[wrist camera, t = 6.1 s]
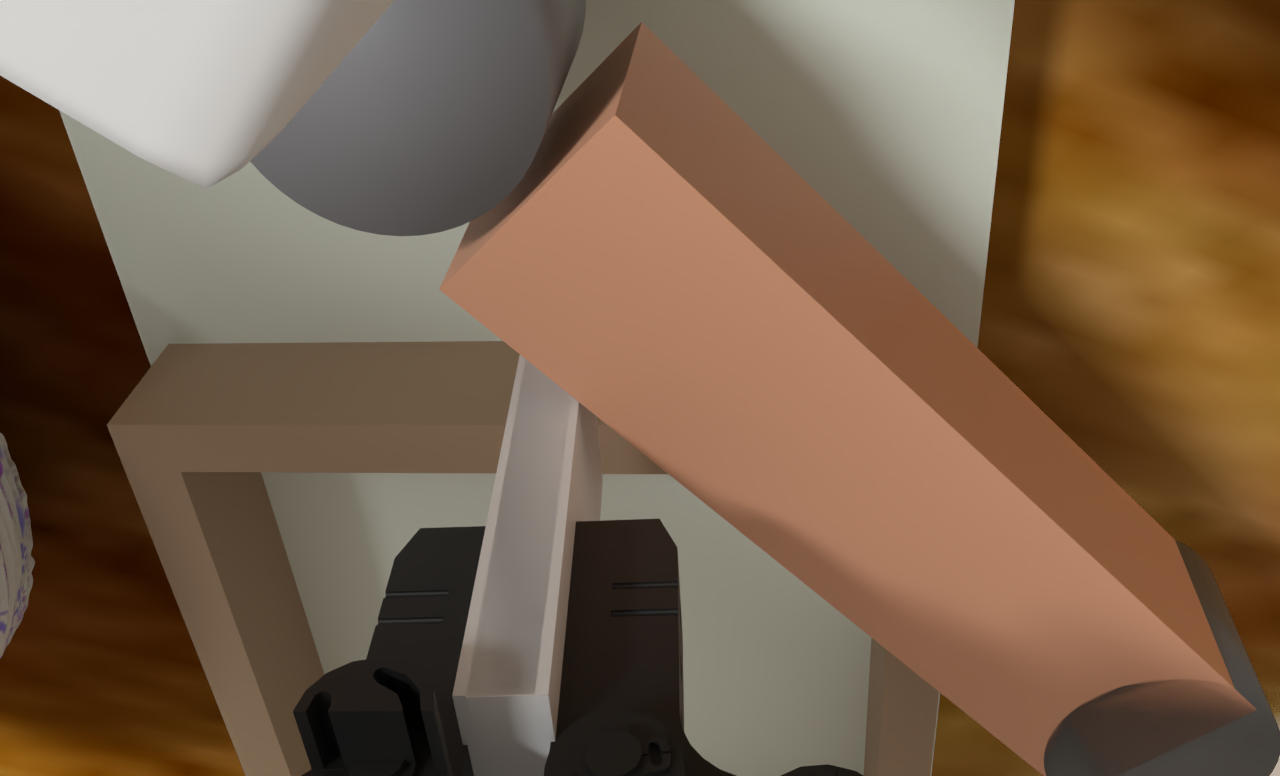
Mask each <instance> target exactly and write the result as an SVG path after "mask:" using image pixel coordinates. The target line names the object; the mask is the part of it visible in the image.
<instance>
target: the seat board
mask: <svg viewBox="0 0 1280 776" xmlns="http://www.w3.org/2000/svg"><path fill="white" fill-rule="evenodd" d="M1014 4H1015V0H586V13H585V20H584V27H583V33H582V36H581V40H580V43H579V47H578V50H577V52H576V55H575V57H574V60H573V62H572V65H571V67H570V70H569V72H568V75H567V77H566V80H565V83H564V85H563V88H562V90H561V93H560V95H559V98H558V100H557V103H556V105H555V108H554V110H553V112H554V111H555V110H556V109H557V108H558V107H559V106H560V105H561V104H562V103H563V102H564V101H565V100H566V99H567V98H568V97H569V96H570V95H571V94H572V93H573V92H574V91H575V90H576V89H577V88H578V87H579V86H580V85H581V84H582V83H583V82H584V81H585V79H586V78H587V77H588V76H589V75H590V74H591V73H592V72H593V71H594V70H595V69H596V68H597V67H598V66H599V65H600V64H601V63H602V62H603V61H604V60H605V59H606V58H607V57H608V56H609V55H610V54H611V53H612V52H613V51H614V50H615V49H616V48H617V47H618V46H619V44H620V43H621V42H622V41H623V40H624V39H625V38H626V37H627V36H628V35H629V34H630V33H631V32H632V31H633V30H634V29H635V28H636V27H637V26H638V25H639V24H640V23H641V22H642V23H643V24H644V25H646V26H647V27H648V28H649V29H650V30H651V31H652V32H653V33H654V34H655V35H656V36H657V37H658V38H659V39H660V40H661V41H662V42H663V43H664V44H665V45H666V46H667V47H668V48H669V49H670V50H671V51H672V52H673V53H674V54H675V55H676V56H677V57H678V58H679V59H681V60H682V61H683V62H684V63H685V64H686V65H687V66H688V67H689V68H690V69H691V70H692V71H693V72H694V73H695V74H696V75H697V76H698V77H699V78H700V79H701V80H702V81H703V82H704V83H705V84H706V85H707V86H708V87H709V88H710V89H711V90H712V91H713V92H714V93H716V94H717V95H718V96H719V97H720V98H721V99H722V100H723V101H724V102H725V103H726V104H727V105H728V106H729V107H730V108H731V109H732V110H733V111H734V112H735V113H736V114H737V115H738V116H739V117H740V118H741V119H742V120H743V121H744V122H745V123H746V124H747V125H748V126H749V127H750V128H752V129H753V130H754V131H755V132H756V133H757V134H758V135H759V136H760V137H761V138H762V139H763V140H764V141H765V142H766V143H767V144H768V145H769V146H770V147H771V148H772V149H773V150H774V151H775V152H776V153H777V154H778V155H779V156H780V157H781V158H782V159H783V160H784V161H785V162H787V163H788V164H789V165H790V166H791V167H792V168H793V169H794V170H795V171H796V172H797V173H798V174H799V175H800V176H801V177H802V178H803V179H804V180H805V181H806V182H807V183H808V184H809V185H810V186H811V187H812V188H813V189H814V190H815V191H816V192H817V193H818V194H819V195H820V196H822V197H823V198H824V199H825V200H826V201H827V202H828V203H829V204H830V205H831V206H832V207H833V208H834V209H835V210H836V211H837V212H838V213H839V214H840V215H841V216H842V217H843V218H844V219H845V220H846V221H847V222H848V223H849V224H850V225H851V226H852V227H853V228H854V229H855V230H857V231H858V232H859V233H860V234H861V235H862V236H863V237H864V238H865V239H866V240H867V241H868V242H869V243H870V244H871V245H872V246H873V247H874V248H875V249H876V250H877V251H878V252H879V253H880V254H881V255H882V256H883V257H884V258H885V259H886V260H887V261H888V262H889V263H890V264H892V265H893V266H894V267H895V268H896V269H897V270H898V271H899V272H900V273H901V274H902V275H903V276H904V277H905V278H906V279H907V280H908V281H909V282H910V283H911V284H912V285H913V286H914V287H915V288H916V289H917V290H918V291H919V292H920V293H921V294H922V295H923V296H924V297H925V298H926V299H928V300H929V301H930V302H931V303H932V304H933V305H934V306H935V307H936V308H937V309H938V310H939V311H940V312H941V313H942V314H943V315H944V316H945V317H946V318H947V319H948V320H949V321H950V322H951V323H952V324H953V325H954V326H955V327H956V328H957V329H958V330H959V331H960V332H961V333H963V334H964V335H965V336H966V337H967V338H968V339H969V340H970V341H971V342H972V343H973V344H974V345H975V346H976V347H977V348H978V338H979V329H980V320H981V311H982V301H983V292H984V283H985V273H986V264H987V255H988V245H989V236H990V227H991V218H992V208H993V199H994V190H995V180H996V171H997V162H998V153H999V143H1000V134H1001V125H1002V115H1003V106H1004V97H1005V87H1006V78H1007V69H1008V60H1009V50H1010V41H1011V32H1012V22H1013V13H1014ZM59 111H60V110H59ZM60 114H61V117H62V120H63V123H64V125H65V128H66V131H67V134H68V137H69V139H70V142H71V145H72V148H73V150H74V153H75V156H76V159H77V162H78V164H79V167H80V170H81V173H82V176H83V178H84V181H85V184H86V187H87V190H88V192H89V195H90V198H91V201H92V204H93V206H94V209H95V212H96V215H97V218H98V220H99V223H100V226H101V229H102V232H103V234H104V237H105V240H106V243H107V246H108V248H109V251H110V254H111V257H112V259H113V262H114V265H115V268H116V271H117V273H118V276H119V279H120V282H121V285H122V287H123V290H124V293H125V296H126V299H127V301H128V304H129V307H130V310H131V313H132V315H133V318H134V321H135V324H136V327H137V329H138V332H139V335H140V338H141V341H142V343H143V346H144V349H145V352H146V355H147V357H148V360H149V363H150V366H151V367H150V369H149V370H148V371H147V373H146V374H145V375H144V377H143V378H142V379H141V380H140V382H139V383H138V384H137V386H136V387H135V388H134V390H133V391H132V392H131V394H130V395H129V396H128V397H127V399H126V400H125V401H124V403H123V404H122V405H121V407H120V408H119V409H118V411H117V412H116V413H115V415H114V416H113V417H112V418H111V420H110V421H109V422H108V424H107V427H108V429H109V432H110V434H111V437H112V439H113V442H114V445H115V447H116V450H117V452H118V455H119V457H120V460H121V462H122V465H123V467H124V470H125V472H126V475H127V477H128V480H129V482H130V485H131V487H132V490H133V493H134V495H135V498H136V500H137V503H138V505H139V508H140V510H141V513H142V515H143V518H144V520H145V523H146V525H147V528H148V530H149V533H150V536H151V538H152V541H153V543H154V546H155V548H156V551H157V553H158V556H159V558H160V561H161V563H162V566H163V568H164V571H165V573H166V576H167V578H168V581H169V584H170V586H171V589H172V591H173V594H174V596H175V599H176V601H177V604H178V606H179V609H180V611H181V614H182V616H183V619H184V621H185V624H186V626H187V629H188V632H189V634H190V637H191V639H192V642H193V644H194V647H195V649H196V652H197V654H198V657H199V659H200V662H201V664H202V667H203V669H204V672H205V675H206V677H207V680H208V682H209V685H210V687H211V690H212V692H213V695H214V697H215V700H216V702H217V705H218V707H219V710H220V712H221V715H222V717H223V720H224V723H225V725H226V728H227V730H228V733H229V735H230V738H231V740H232V743H233V745H234V748H235V750H236V753H237V755H238V758H239V760H240V763H241V765H242V768H243V771H244V773H245V776H301V775H303V774H305V773H306V772H308V771H310V770H311V766H310V763H309V760H308V757H307V754H306V750H305V747H304V744H303V741H302V738H301V735H300V732H299V729H298V726H297V723H296V720H295V717H294V714H293V710H294V709H295V707H296V705H297V704H298V702H299V700H300V699H301V697H302V695H303V694H304V692H305V691H306V690H307V689H308V688H309V687H310V686H311V685H313V684H314V683H315V682H316V681H318V680H319V679H320V678H321V677H322V676H324V675H325V674H326V673H328V672H330V671H332V670H334V669H337V668H339V667H341V666H343V665H346V664H348V663H350V662H352V661H359V660H366V658H367V654H368V651H369V647H370V644H371V640H372V637H373V633H374V630H375V626H376V625H378V615H379V612H380V608H381V605H382V601H383V598H385V596H386V593H385V591H386V587H387V584H388V580H389V577H390V573H391V570H392V566H393V563H394V559H395V557H396V556H397V555H398V554H399V552H400V551H401V550H402V549H403V548H404V547H405V545H406V544H407V543H408V542H409V541H410V540H411V538H412V537H413V536H414V535H415V534H416V532H417V531H418V530H419V529H420V528H441V527H473V526H486V523H487V518H488V513H489V507H490V502H491V497H492V492H493V487H494V482H495V477H496V472H497V467H498V462H499V457H500V452H501V447H502V442H503V437H504V432H505V427H506V421H507V416H508V411H509V406H510V401H511V396H512V391H513V386H514V381H515V376H516V371H517V366H518V361H519V356H520V354H519V353H517V352H516V351H515V350H514V349H513V348H511V347H510V346H509V345H508V344H506V343H505V342H504V341H503V340H501V339H500V338H499V337H498V336H496V335H495V334H494V333H493V332H491V331H490V330H489V329H488V328H486V327H485V326H484V325H483V324H481V323H480V322H479V321H478V320H476V319H475V318H474V317H473V316H472V315H470V314H469V313H468V312H467V311H465V310H464V309H463V308H462V307H460V306H459V305H458V304H457V303H455V302H454V301H453V300H452V299H450V298H449V297H448V296H447V295H445V294H444V293H443V292H442V291H440V290H439V289H440V286H441V284H442V282H443V280H444V278H445V275H446V273H447V271H448V269H449V267H450V264H451V262H452V260H453V258H454V256H455V253H456V251H457V249H458V247H459V245H460V242H461V240H462V238H463V236H464V234H465V231H466V229H467V227H468V225H469V223H470V222H468V223H466V224H464V225H462V226H459V227H456V228H453V229H449V230H446V231H443V232H439V233H433V234H427V235H421V236H389V235H378V234H373V233H368V232H363V231H358V230H355V229H352V228H349V227H345V226H342V225H339V224H337V223H334V222H332V221H330V220H327V219H325V218H323V217H320V216H318V215H317V214H315V213H313V212H311V211H309V210H308V209H306V208H304V207H302V206H301V205H299V204H298V203H296V202H295V201H293V200H292V199H291V198H289V197H288V196H286V195H285V194H284V193H282V192H281V191H280V190H279V189H277V188H276V187H275V186H274V185H273V184H272V183H271V182H269V181H268V180H267V179H266V178H265V177H264V176H263V175H262V174H261V173H260V172H259V171H258V170H257V168H256V167H255V166H254V165H253V164H252V163H251V162H249V163H247V164H246V165H245V166H244V167H243V168H242V169H241V170H240V171H238V172H236V173H234V174H232V175H231V176H229V177H227V178H225V179H224V180H222V181H220V182H218V183H216V184H215V185H213V186H211V187H209V188H208V189H204V188H202V187H200V186H198V185H196V184H194V183H192V182H190V181H188V180H186V179H184V178H181V177H179V176H177V175H175V174H173V173H171V172H169V171H167V170H165V169H163V168H161V167H159V166H157V165H154V164H152V163H150V162H148V161H146V160H144V159H142V158H140V157H138V156H136V155H135V154H133V153H131V152H130V151H128V150H126V149H124V148H123V147H121V146H119V145H118V144H116V143H114V142H112V141H111V140H109V139H107V138H106V137H104V136H102V135H101V134H99V133H97V132H95V131H94V130H92V129H90V128H89V127H87V126H85V125H84V124H82V123H80V122H78V121H77V120H75V119H73V118H72V117H70V116H68V115H67V114H65V113H63V112H61V111H60ZM596 417H597V416H596ZM597 427H598V437H599V447H600V457H601V467H602V477H603V483H602V497H601V512H600V521H605V520H633V519H660V520H661V522H662V523H663V525H664V527H665V528H666V530H667V531H668V533H669V535H670V536H671V538H672V539H673V541H674V543H675V544H676V546H677V548H678V565H679V583H680V600H681V617H682V634H683V686H684V733H685V735H686V737H687V739H688V741H689V743H690V744H691V745H692V747H693V748H694V749H695V750H696V751H697V752H698V753H699V754H700V755H701V756H702V758H704V759H705V760H707V761H708V762H710V763H711V764H713V765H714V766H716V767H717V768H719V769H721V770H723V771H726V772H728V773H731V774H734V775H736V776H781V775H783V774H785V773H787V772H790V771H792V770H794V769H796V768H799V767H801V766H813V765H826V764H829V765H833V766H838V767H842V768H846V769H850V770H854V771H857V772H858V773H860V774H862V775H863V776H931V775H932V766H933V757H934V747H935V738H936V729H937V720H938V710H939V701H940V692H939V691H937V690H936V689H935V688H934V687H932V686H931V685H930V684H929V683H927V682H926V681H925V680H924V679H922V678H921V677H920V676H919V675H917V674H916V673H915V672H914V671H913V670H911V669H910V668H909V667H908V666H906V665H905V664H904V663H903V662H901V661H900V660H899V659H898V658H896V657H895V656H894V655H893V654H891V653H890V652H889V651H888V650H886V649H885V648H884V647H883V646H881V645H880V644H879V643H878V642H876V641H875V640H874V639H873V638H872V637H870V636H869V635H868V634H867V633H865V632H864V631H863V630H862V629H860V628H859V627H858V626H857V625H855V624H854V623H853V622H852V621H850V620H849V619H848V618H847V617H845V616H844V615H843V614H842V613H840V612H839V611H838V610H837V609H835V608H834V607H833V606H832V605H831V604H829V603H828V602H827V601H826V600H824V599H823V598H822V597H821V596H819V595H818V594H817V593H816V592H814V591H813V590H812V589H811V588H809V587H808V586H807V585H806V584H804V583H803V582H802V581H801V580H799V579H798V578H797V577H796V576H794V575H793V574H792V573H791V572H790V571H788V570H787V569H786V568H785V567H783V566H782V565H781V564H780V563H778V562H777V561H776V560H775V559H773V558H772V557H771V556H770V555H768V554H767V553H766V552H765V551H763V550H762V549H761V548H760V547H758V546H757V545H756V544H755V543H753V542H752V541H751V540H750V539H749V538H747V537H746V536H745V535H744V534H742V533H741V532H740V531H739V530H737V529H736V528H735V527H734V526H732V525H731V524H730V523H729V522H727V521H726V520H725V519H724V518H722V517H721V516H720V515H719V514H717V513H716V512H715V511H714V510H713V509H711V508H710V507H709V506H708V505H706V504H705V503H704V502H703V501H701V500H700V499H699V498H698V497H696V496H695V495H694V494H693V493H691V492H690V491H689V490H688V489H686V488H685V487H684V486H683V485H681V484H680V483H679V482H678V481H676V480H675V479H674V478H673V477H672V476H670V475H669V474H668V473H667V472H665V471H664V470H663V469H662V468H660V467H659V466H658V465H657V464H655V463H654V462H653V461H652V460H650V459H649V458H648V457H647V456H645V455H644V454H643V453H642V452H640V451H639V450H638V449H637V448H635V447H634V446H633V445H632V444H631V443H629V442H628V441H627V440H626V439H624V438H623V437H622V436H621V435H619V434H618V433H617V432H616V431H614V430H613V429H612V428H611V427H609V426H608V425H607V424H606V423H604V422H603V421H602V420H601V419H599V418H598V417H597Z"/></svg>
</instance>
